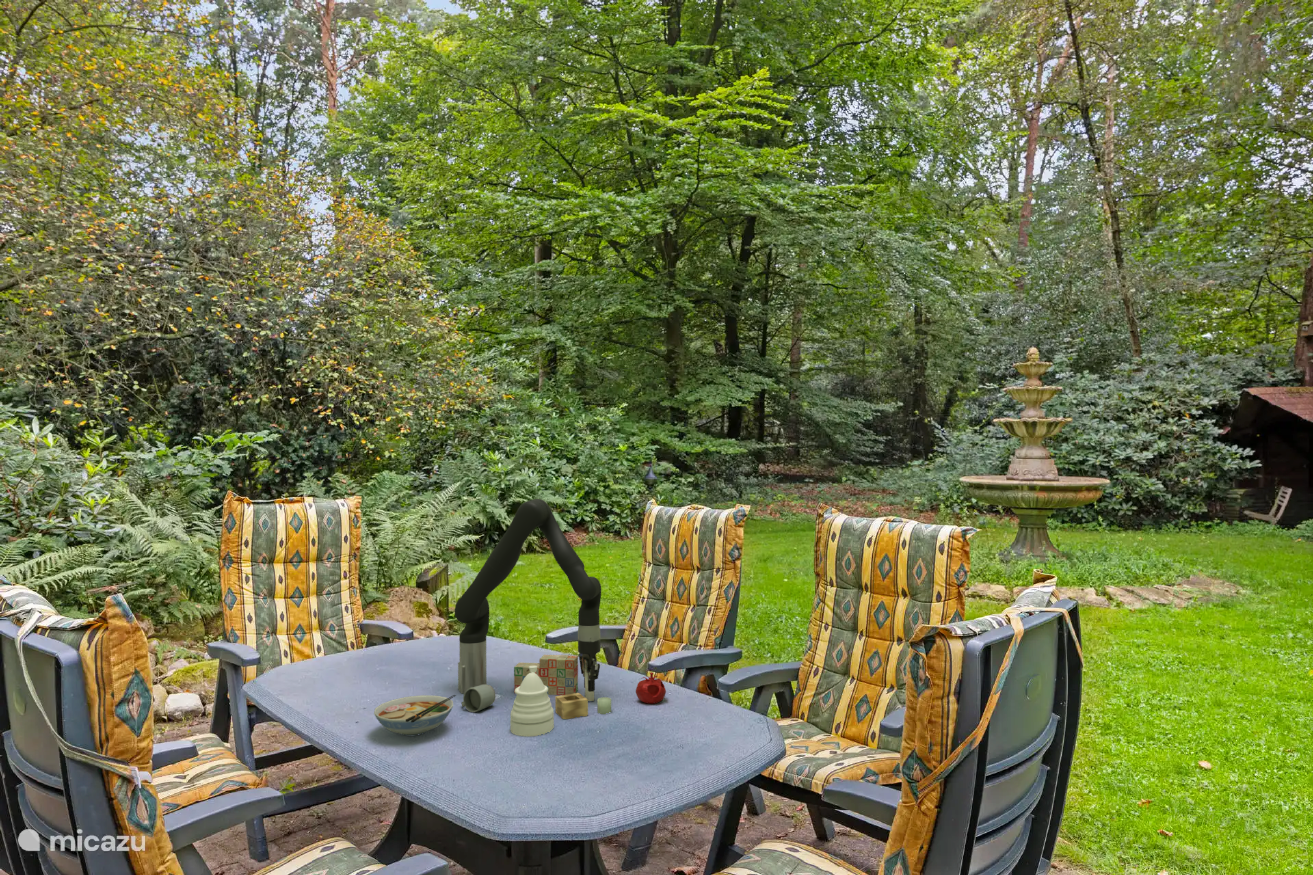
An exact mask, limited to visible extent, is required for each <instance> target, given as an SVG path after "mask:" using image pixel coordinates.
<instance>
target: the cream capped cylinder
mask: <svg viewBox="0 0 1313 875" xmlns="http://www.w3.org/2000/svg"><path fill="white" fill-rule="evenodd" d="M590 670H591V669H590ZM590 670H589V671H590ZM584 697H585V698H586V699H588V701H593V702H594V701H595V691H592V692H589V691H588V674H587V673H586V665H585V688H584Z"/></svg>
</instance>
